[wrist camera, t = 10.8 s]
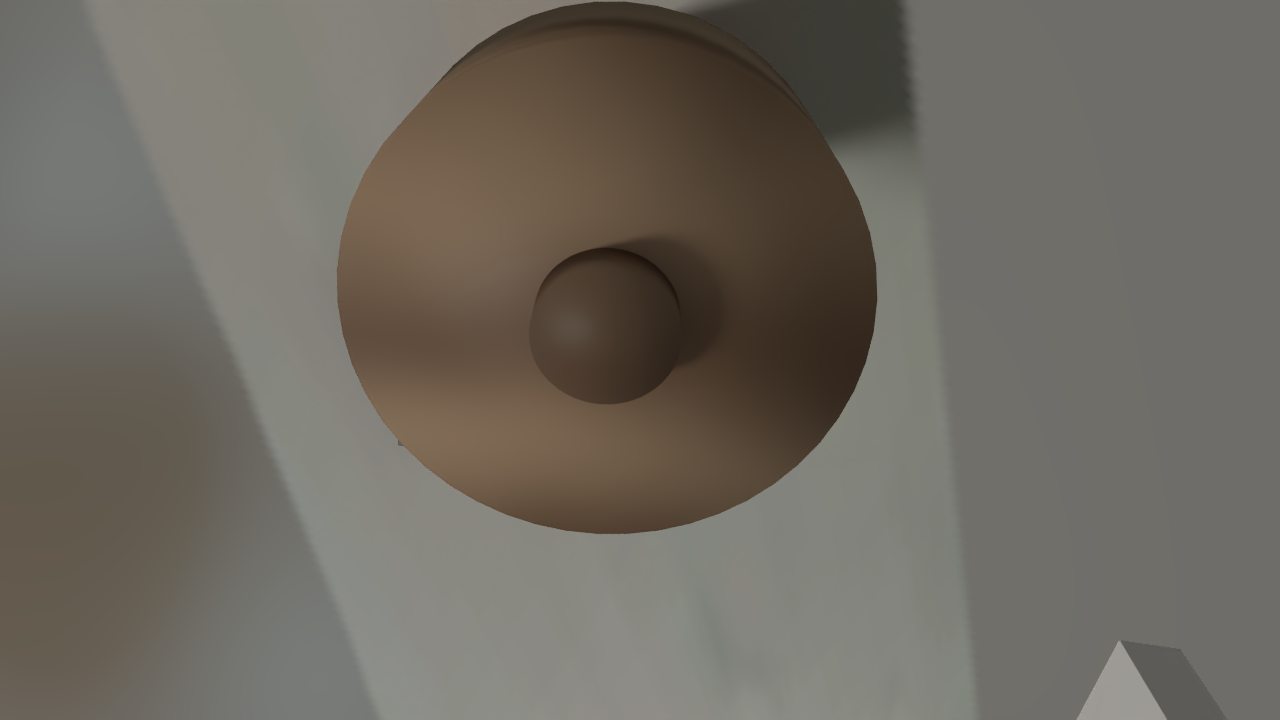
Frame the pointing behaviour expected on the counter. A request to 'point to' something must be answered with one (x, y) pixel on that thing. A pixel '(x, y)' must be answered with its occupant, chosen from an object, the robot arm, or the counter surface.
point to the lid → (608, 273)
